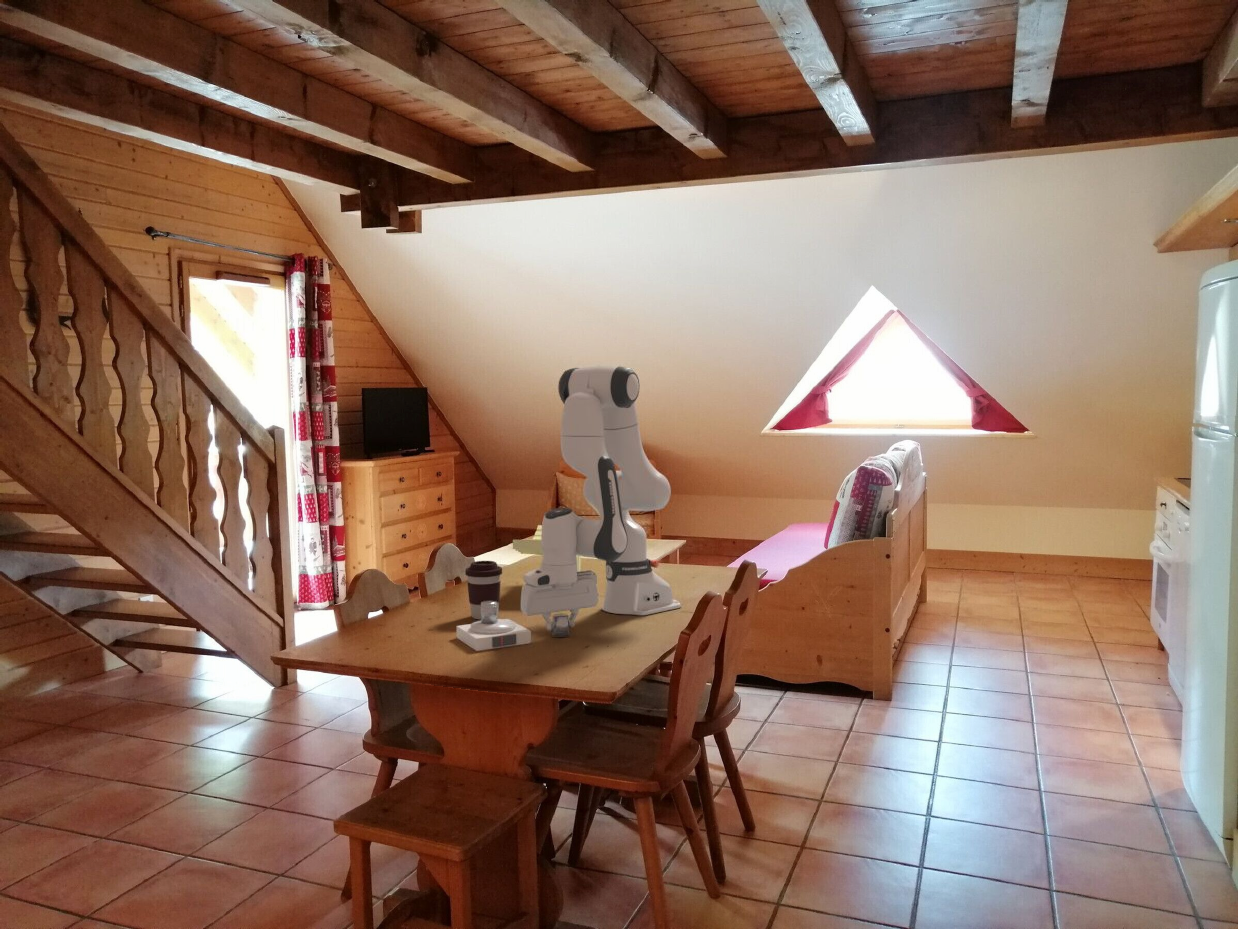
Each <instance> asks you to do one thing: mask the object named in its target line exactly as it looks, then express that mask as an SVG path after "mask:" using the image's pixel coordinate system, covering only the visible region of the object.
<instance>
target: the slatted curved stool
mask: <svg viewBox="0 0 1238 929" xmlns="http://www.w3.org/2000/svg"><path fill="white" fill-rule="evenodd" d="M541 533H542V525H541V524H538V525H537V528H536V531H535V533H534V536H532V539H512V550H515V551H516V552H518V553H520V554H521V555H522V554H523V555H535V556H541V557H543V549H542V544H541ZM576 558H577V572H579V571H582V568H581V566H582V565H581V564H582V556H579V555H576ZM525 584H527V583H526V582H525ZM525 584H523V585H522V587H521V589H522V588H523V586H524V585H525Z"/></svg>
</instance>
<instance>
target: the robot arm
mask: <svg viewBox="0 0 1238 929" xmlns="http://www.w3.org/2000/svg"><path fill="white" fill-rule="evenodd" d="M557 386H558V395H559V397H560V400H561V401H562V404H563V410H562V417H561V426H560V450H561V455H562V458H563V460H564V462H565V463H566V464H567V465H568V466H569V467H570V468H571V469H573V470H574V471H576V472H578V473H579V474H581V475H583V476H584V477H586V478H585V481H584V482H583V488H582V489H583V490H582V491H583V492H582V494H583V496H584V499H585V501H586V502H587V504H588V505H589V506H590V507H592V508H593V509H594V510H595V512H596V514H598V517H599V519H598V520H597V519H590V518H584V517H581V516H579V515H578V514H576V513H574V510H573V509H572V508H568V507H559V508H552V509H550V510H548V511H546V512H545V514H544V515H543V519H542V523H541V524H542V533H541V544H542V549H543V556H542V559H541V566H539V567H537V568H535V569H532V570H530V571H528V572H527V573H525V574H523V582H524V584H523V585H524V586H523V585H522V586H523V588H522V587H521V592H520V594H521V595H520V611H521V612H522V613H523V614H524V615H527V616H537V615H541V616H542V618H543V620H544V621H545V622H546V630H547V631H553V630H554V629H555V627H554V626H555V623H554V622H553V621H552V620H551V619H550V618H551V616H552V613H558V612H559V613H560V612H565V611H569V613H570V615H569V616H568V622H569V628H573V627H575V620H576V619H577V617H578V615H579V610H581V609H586V608H587V609H588V608H592V607H593V608H594V607H596V606H597V605H598V604H599V593H598V587H597V584H598V576H597V573H595V572H594V571H593V570H584V571H583V570H580V571H579V572H577V558H576V555H579V556H581V557H585V558H592V559H593V558H594V559H597V560H601V561H604V562H605V579H606V585H605V594H604V599H603V603H602V607H601V609H602V610H603V611H604V612H607V613H612V614H619V615H634V616H635V615H636V616H647V615H651V614H656V613H661V612H666V611H670V610H674V609H679V608H682V607H681V603H680V601H678V599H677V600H676V599H674V598H673V597H674V596H673V591H672V587H671V586H670V584H669V583H668V582H667V581H666V580H664V579H663V578H662V577H660V576H659V575H658V574H656V573H655V572H654V571H653V568H656V569H657V568H659V566H660V562H659V561H658V560H655V559H652V560H651V559H649V558H647V556H648V554H647V533H646V531H645V528H643V527H642V526H641V525H640V524H639V523H637V522H635V521H634V519H632V517H631V515H630V512H629V511H635V512H636V511H637V512H651V511H658V510H662V509H664V508H665V507H666V505H668V503H669V502H670V498H671V494H672V493H671V492H672V490H671V489H672V488H671V484H670V482H669V480H668V479H667V477H666V476H665V475H664V474H663V473H661V472H660V471H658V470H657V469H656V468H655V467H654V466H653V464H652V463H651V461H650V460H649V459H648V457H647V454H646V452H645V451H644V448H643V442H642V438H641V432H640V422H639V415H638V409H637V405H636V400H637V399H638V397H639V393H640V378H639V376H638V374H636V372H635V371H634V370H633V369H632V368H630V367H626V366H621V365H620V366H610V365H609V366H608V365H596V366H587V367H573V368H570V369H567V370H564V371H563V373H562V375H561V376H560V378H559V380H558V385H557ZM616 467H618V469H619V470H616ZM526 583H527V584H526Z"/></svg>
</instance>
